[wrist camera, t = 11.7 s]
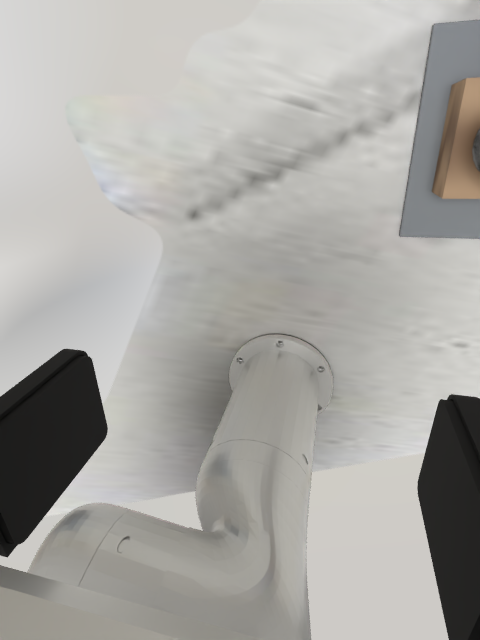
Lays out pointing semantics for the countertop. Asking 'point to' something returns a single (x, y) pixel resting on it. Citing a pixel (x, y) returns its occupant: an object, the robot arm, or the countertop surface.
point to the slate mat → (440, 136)
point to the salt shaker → (476, 150)
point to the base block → (459, 144)
